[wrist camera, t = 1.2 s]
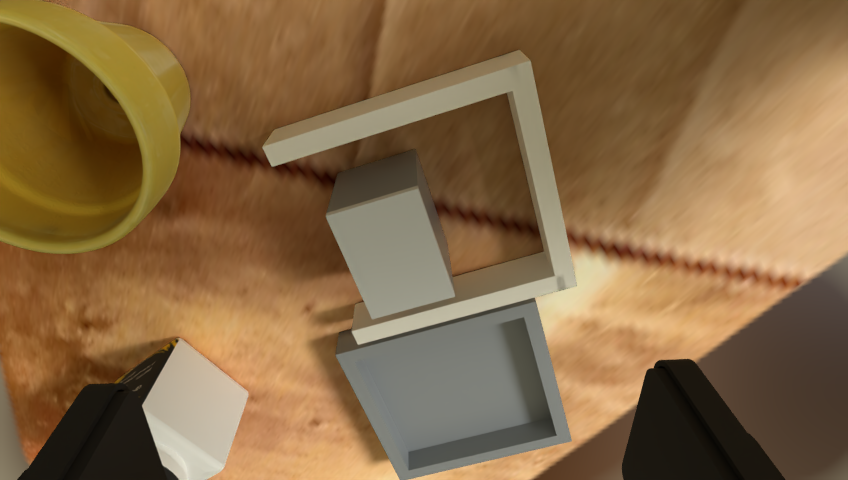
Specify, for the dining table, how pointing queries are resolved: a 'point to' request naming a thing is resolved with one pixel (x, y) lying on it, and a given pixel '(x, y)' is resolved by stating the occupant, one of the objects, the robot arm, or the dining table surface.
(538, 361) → the tray
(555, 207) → the bay
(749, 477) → the robot arm
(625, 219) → the dining table surface
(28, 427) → the dining table surface
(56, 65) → the plant pot
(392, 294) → the gray block
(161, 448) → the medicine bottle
